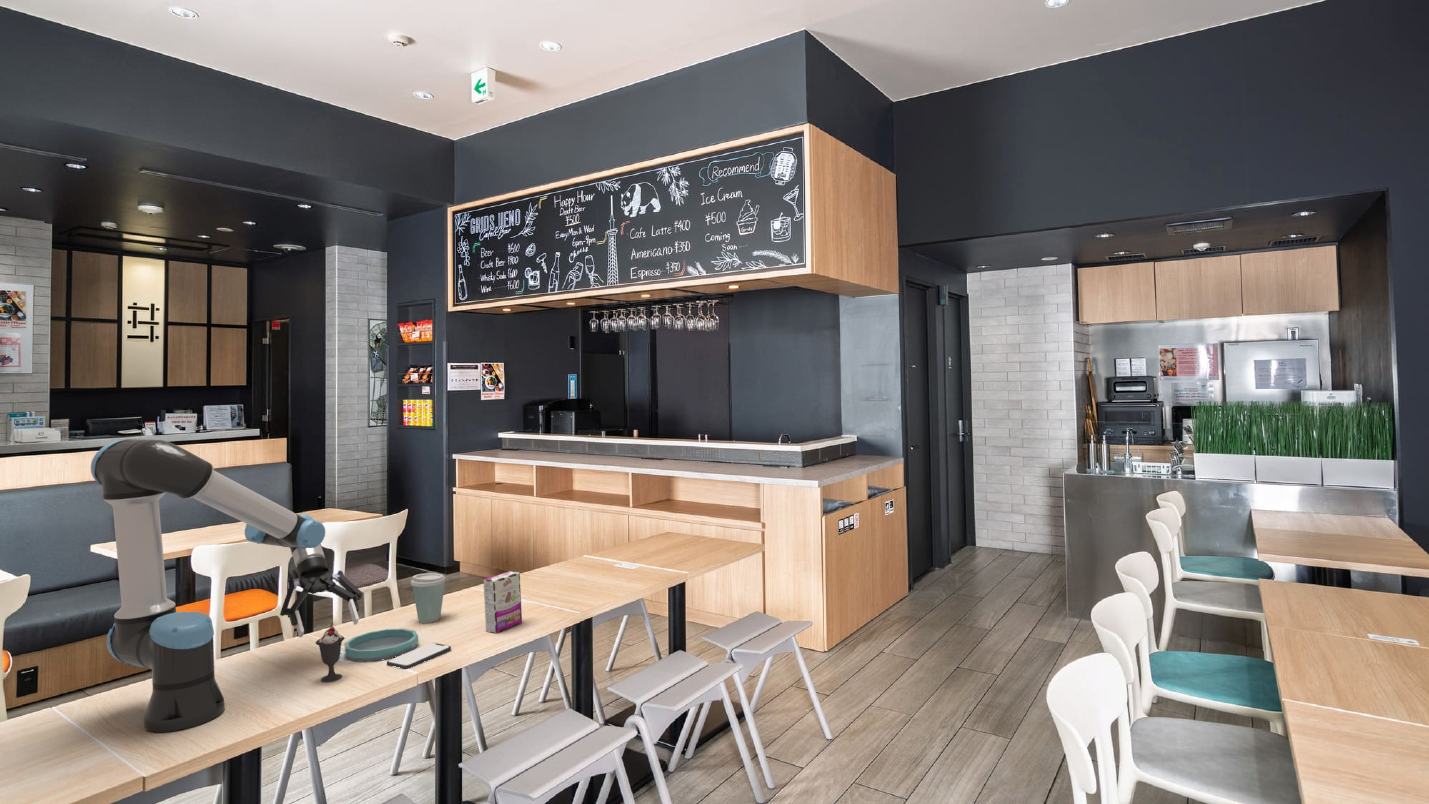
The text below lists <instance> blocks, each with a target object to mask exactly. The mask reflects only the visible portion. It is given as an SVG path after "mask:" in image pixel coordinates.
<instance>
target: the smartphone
mask: <svg viewBox="0 0 1429 804" xmlns="http://www.w3.org/2000/svg"><path fill="white" fill-rule="evenodd" d="M449 651H450V652H451V651H452V647H451V645H447V644H441V643H437V642H430V643H427V644H425V645H423V646H420V647H418V648H417V647H416V648H415V649H414V650H412V651H410V652H408V653H405V654H403V655H400V656H398V657H395V658H391V659H387V661H386V666H388V665H389V666H388V667H392V666H396V667H400V668H399V669H401V668H402V670H408V668H409V669H411V667H412V668H414V667H416V665H417V666H419V665H421V664H424V663H425V662H424V661H426V662H428V660H429V661H430V659H431V660H433V659H436V658H438V657H441V656H443V655H444V654H448V653H450V652H449ZM447 652H448V653H447ZM442 654H443V655H442ZM437 656H438V657H437ZM435 657H436V658H435ZM423 662H424V663H423ZM418 664H419V665H418ZM413 666H414V667H413ZM396 667H395V668H396Z"/></svg>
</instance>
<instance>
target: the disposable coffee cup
mask: <svg viewBox="0 0 1429 804" xmlns="http://www.w3.org/2000/svg"><path fill="white" fill-rule="evenodd" d="M445 583H446V577H445V576H444V575H443V574H442V573H435V572H434V573H431V572H429V573H428V572H427V573H419V574H415V575H413V576H412V579H411V580H410V584H411V586H412V592H413V593H412V594H413V597H414V603H415V607H416V614H417V619H418V621H419V623H420V624H431V622H432V623H435V622H434V621H436V622H438V621H439V620H440V619H441V614H442V607H443V600H444V591H445V585H446V584H445ZM438 619H439V620H438Z"/></svg>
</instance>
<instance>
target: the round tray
mask: <svg viewBox="0 0 1429 804" xmlns="http://www.w3.org/2000/svg"><path fill="white" fill-rule="evenodd" d="M418 643H419V635H418V633H417V630H413V629H409V628H384V629H380V630H374V631H373V630H372V631H369V632H365V633H363V634H359V635H357V636H353V637H352V638H350V639H349V640H347V641H346V642H345V643H344V653H345V654H344V655H345V658H346V660H349V661H353V662H357V661H372V662H379V661H378V660H380V661H383V660H382V659H386V660H390V659H389V658H391V659H393V658H392V657H395V656H400V655H402V654H405V653H408V652H410V651H412V650H413V649H414V650H415V649H417V647H418ZM416 646H417V647H416ZM395 658H396V657H395Z"/></svg>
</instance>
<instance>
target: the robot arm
mask: <svg viewBox="0 0 1429 804" xmlns="http://www.w3.org/2000/svg"><path fill="white" fill-rule="evenodd" d="M90 472H91V475H92V478H93V479H94V480H95V482H97V484H98V485H99V486H102V487H101V488H102V498H103V501H104V502H106V503H107V504H109V505H111V507H112V512H113V521H114V522H113V524H114V534H115V535H114V536H115V545H116V556H117V569H118V578H119V579H118V581H119V590H120V591H119V592H120V601H121V602H120V603H121V606H120V608H119V609H118V610H117V611H116V612H115V613H114V615H113V616H114V617H113V619H114V623H113V624H112V625H113V626H112V627H111V628H110V629H109V631H108V633H107V636H106V647H107V650H108V652H109V654H110V655H111V657H112V658H114V659H115V660H116V661H118V662H121V663H122V664H126V665H127V666H131V667H139V668H143V669H149V670H151V678H152V679H151V681H152V692H151V695H150V698H149V701H148V705H147V707H146V710H145V713H144V716H143V724H144V725H143V727H144V730H146V729H147V730H148V731H147V730H146V731H147V732H151V731H155V732H154V733H157V732H156V731H159V732H158V733H161V732H160V731H170V732H176V731H181V729H182V730H185V729H189V728H193V727H196V726H199V725H202V724H205V723H207V722H209V721H212V720H213V719H214V720H215V719H216V718H217V717H219V716H220V715H221V714H222V713H224V712H225V709H226V704H225V698H224V695H223V694H222V691H221V689H220V687H219V684H218V682H217V681H216V677H215V656H214V655H215V653H214V652H215V651H214V650H215V649H214V635H215V630H214V626H213V621H212V618H211V617H210V616H209V615H208V614H206V613H204V612H201V611H178V612H177V607H176V602H175V601H173V600H172V599H170V598H169V597H167V583H166V570H165V559H164V548H163V534H162V524H161V514H160V513H161V512H160V503H159V502H160V500H161V499H162V498H163V497H164V496H165V494H166V493H167V494H171V495H174V496H177V497H179V498H181V499H183V500H190V499H195V500H196V501H199V502H200V503H203V504H205V505H207V506H209V507H211V508H213V509H215V510H217V511H219V512H221V513H224V514H226V515H228V516H230V517H232V518H234V519H235V520H238V521H240V522H243V523H244V524H245V529H244V537H245V539H246V540H247V541H248V542H252V543H256V544H257V545H258V544H262V545H266V546H267V545H268V546H269V545H270V546H276V547H278V546H279V547H283V548H289V549H290V552H291V555H292V557H293V558H292V559H293V562H294V566H295V568H296V569H295V570H296V572H297V574H296V575H297V576H298V580H294V579H288V583H287V585H286V586H287V588H286V589H287V592H286V595H285V598H284V601H283V604H282V606H281V610H280V613H279V615H280V616H281V617H284V616H287V618H288V619H289V621H290V624H291V626H292V627H294V626H295V627H296V631H297V634H298V638H302V637H303V636H304V633H305V629H304V626H303V621H302V618H301V615H300V611H299V607H300V606H301V604H302V603H303V601H304V599H306V597H307V596H308V594H312V595H314V594H318V593H323V592H325V591H326V592H329V593H332V594H334V595H336V596H337V597H339V598H341V599H343V600H345V601H346V602H348V603H347V606H348V610H349V613H350V615H351V619H352V623H353V625H354V626H355V625H358V623H359V620H360V617H359V615H358V614H359V613H358V612H359V610H360V605H359V602H358V601H361V598H362V596H363V591H361V589H359V588H358V587H357V586H356V585H355V584H354V583H353V582H351V581H350V580H349V579H348V578H347V577H346V576H345V574H344V572H343V571H342V570H338V571H337V572H336V573H331V572H330V570H329V567H328V563H327V560H326V556H325V553H324V550H323V546H322V545H321V544H322V543H323V541H324V538H325V537H326V528H325V526H324V524H323V523H322V522H321V521H320V520H315V519H313V518H312V517H311V516H310V515H309V514H306V513H301V514H298V513H295V512H294V511H292V510H289V509H288V508H286V507H285V506H282V505H280V504H278V503H277V502H275V501H273V500H270V499H269V498H267V497H266V496H264V495H261V494H260V493H258V492H255V491H254V490H252V489H250V488H248V487H246V486H245V485H242V484H240V483H239V482H237V481H235V480H233V479H231V478H230V477H227V476H225V475H223V474H221V473H220V472H217V471H216V470H215V469H214V465H213V464H212V463H210V462H208V461H207V460H205V459H203V458H201V457H199V456H197V455H195V454H194V453H192V452H190V451H189V450H187V449H185V448H183V447H181V446H178V445H177V444H174V443H172V442H169V441H165V440H161V439H138V438H137V439H136V438H132V439H129V438H127V439H122V440H116V441H113V442H110V443H107V444H105V445H104V446H102V447H101V448H100V449H99V450H98V451H96V453H95V454H94V456H93V458H92V461H91V464H90ZM333 580H335V581H333ZM336 582H337V583H339V584H336ZM298 587H300V588H301V589H302V591H301V592H300V594H299V595H298V597H297V598H296V599H295V601H293V603H292V605H291V606H290V607H289V604H290V601H291V598H292V596H293V593H294V590H296V589H297V588H298Z"/></svg>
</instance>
